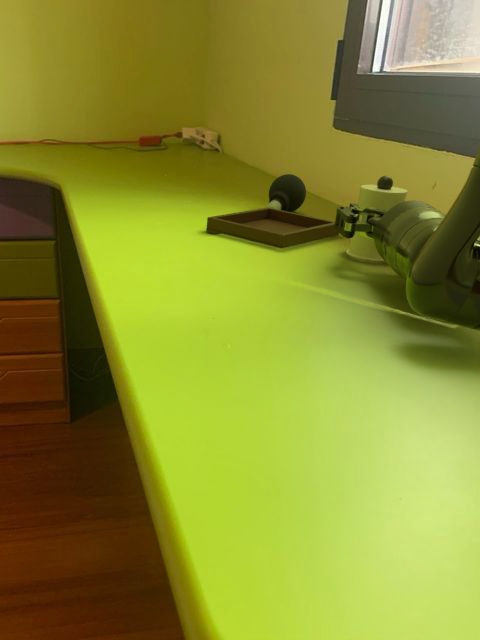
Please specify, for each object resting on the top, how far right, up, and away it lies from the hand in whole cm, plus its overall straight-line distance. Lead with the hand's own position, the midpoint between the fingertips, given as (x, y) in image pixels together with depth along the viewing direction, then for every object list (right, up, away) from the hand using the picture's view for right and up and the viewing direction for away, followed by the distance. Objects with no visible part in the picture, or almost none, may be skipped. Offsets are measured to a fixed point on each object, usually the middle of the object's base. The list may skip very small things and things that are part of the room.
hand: (383, 213), depth 89 cm
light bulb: (-8, +10, +31) cm, 34 cm away
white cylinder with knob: (0, -4, +6) cm, 7 cm away
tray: (-12, +2, +15) cm, 19 cm away
